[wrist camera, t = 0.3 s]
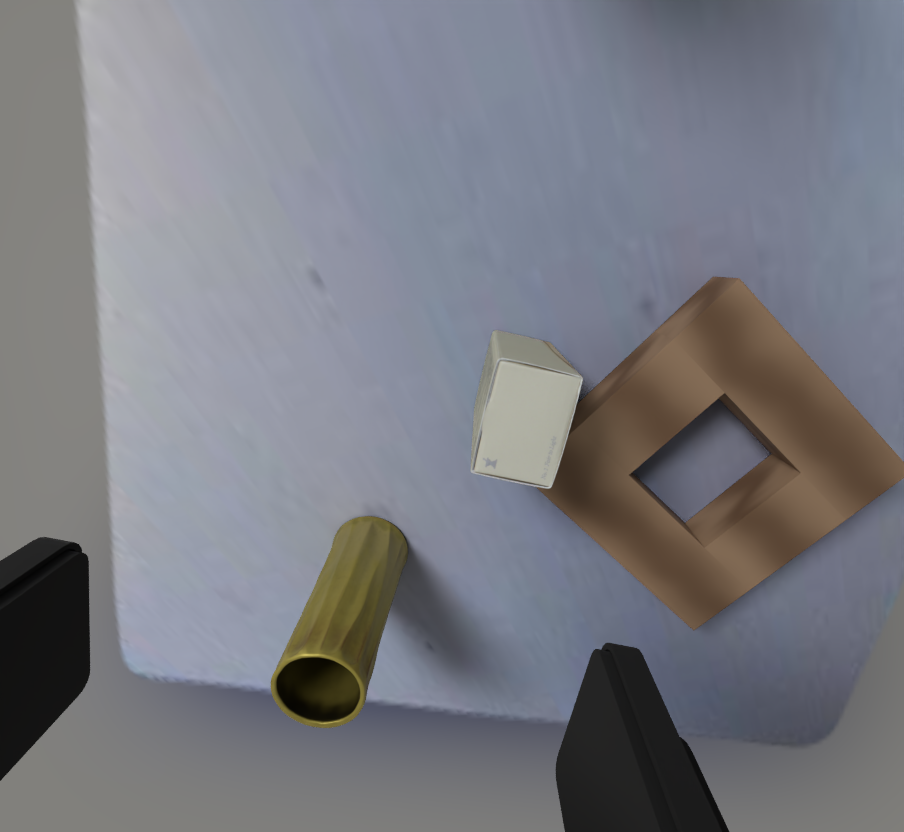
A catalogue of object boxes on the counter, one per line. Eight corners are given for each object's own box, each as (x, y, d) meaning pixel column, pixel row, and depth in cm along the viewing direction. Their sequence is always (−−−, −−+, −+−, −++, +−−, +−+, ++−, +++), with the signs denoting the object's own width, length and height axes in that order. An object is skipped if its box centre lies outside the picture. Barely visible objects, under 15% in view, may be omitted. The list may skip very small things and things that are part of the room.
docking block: (713, 276, 33) (739, 278, 30) (872, 452, 36) (912, 471, 33) (519, 457, 38) (524, 476, 34) (676, 600, 41) (693, 630, 38)
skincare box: (529, 422, 37) (553, 495, 25) (470, 409, 37) (467, 477, 25) (552, 338, 35) (589, 377, 24) (490, 325, 35) (497, 356, 23)
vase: (320, 529, 40) (241, 665, 27) (389, 504, 40) (343, 632, 26) (353, 589, 42) (295, 747, 28) (420, 567, 41) (392, 718, 27)
